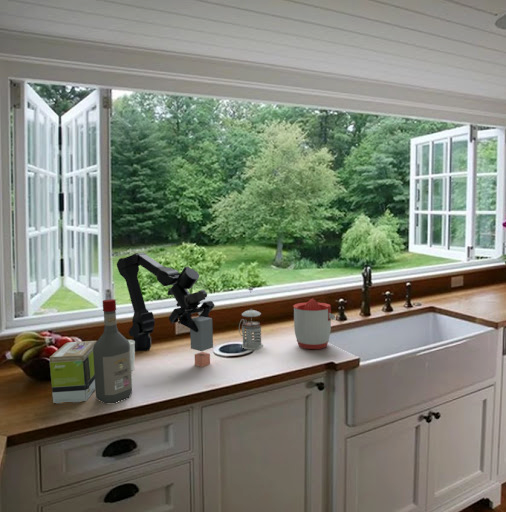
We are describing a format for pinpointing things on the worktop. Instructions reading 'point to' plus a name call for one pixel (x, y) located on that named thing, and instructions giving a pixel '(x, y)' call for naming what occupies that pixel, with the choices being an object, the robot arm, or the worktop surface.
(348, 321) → the worktop surface
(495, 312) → the worktop surface
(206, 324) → the grey tall block
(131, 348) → the white cup
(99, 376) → the liquor
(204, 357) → the red block
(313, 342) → the citrus juicer
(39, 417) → the worktop surface
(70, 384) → the tea box
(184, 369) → the worktop surface
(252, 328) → the french press
